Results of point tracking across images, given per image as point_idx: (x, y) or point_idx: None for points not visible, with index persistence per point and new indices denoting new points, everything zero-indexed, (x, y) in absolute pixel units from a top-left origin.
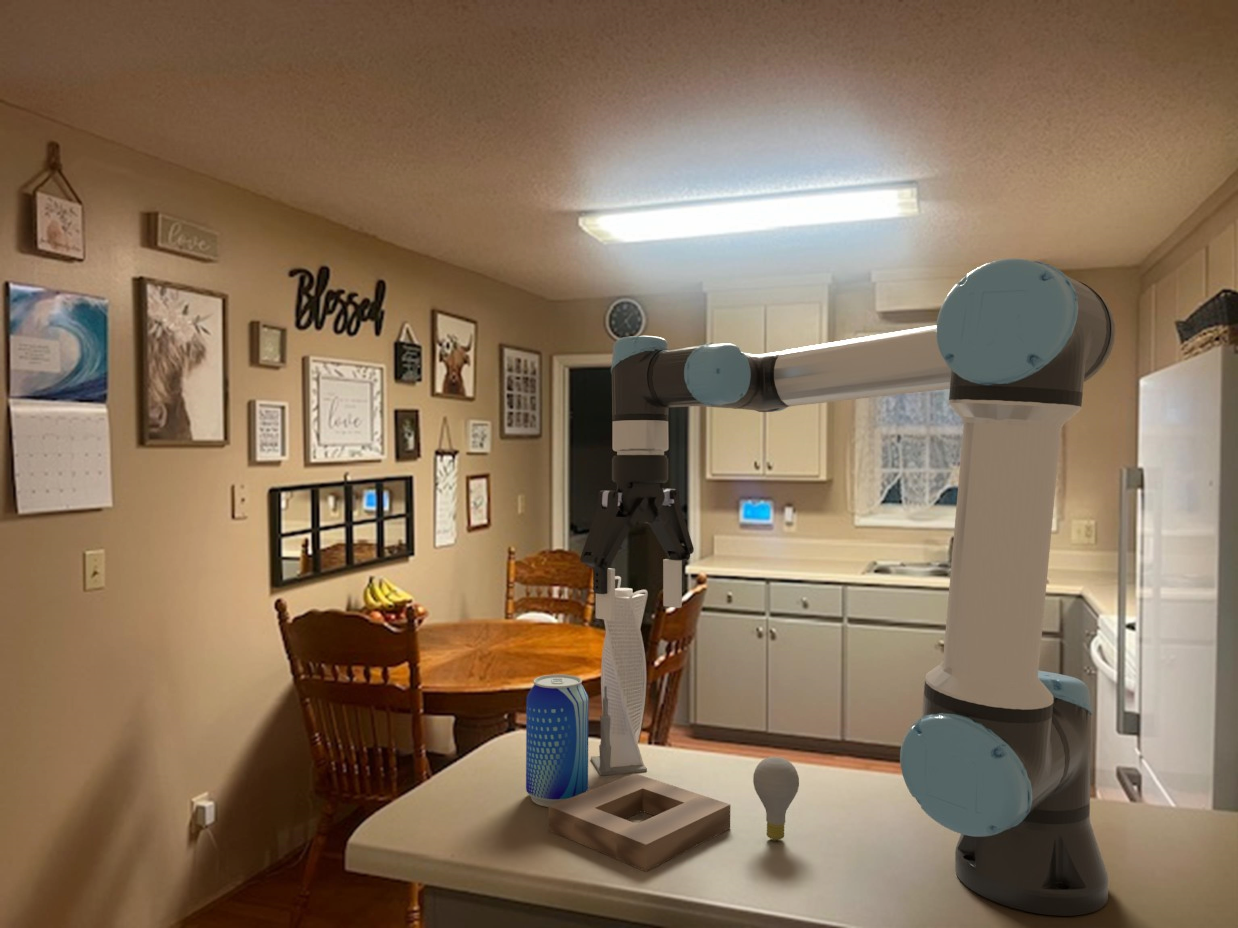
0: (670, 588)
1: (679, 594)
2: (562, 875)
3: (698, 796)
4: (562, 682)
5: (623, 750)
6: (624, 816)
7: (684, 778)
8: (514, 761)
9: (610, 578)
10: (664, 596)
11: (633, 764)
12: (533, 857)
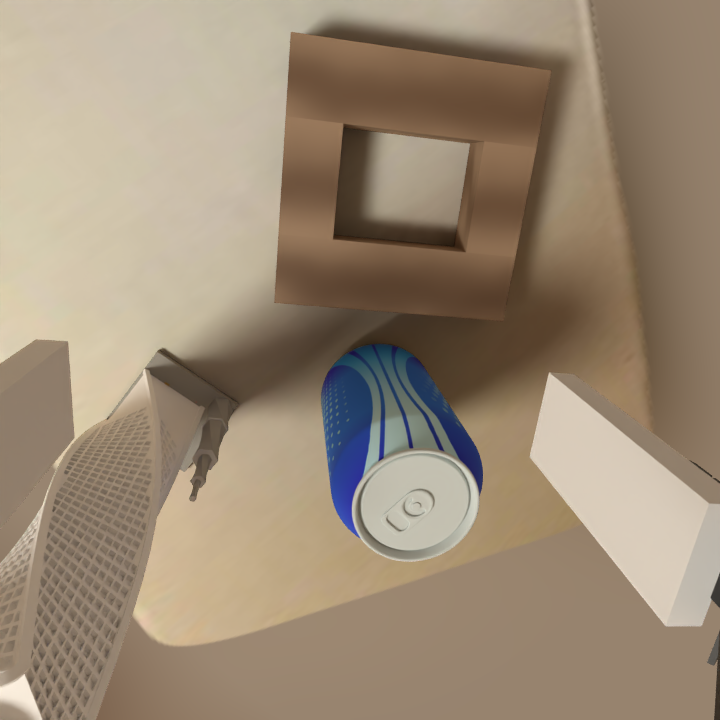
0: (25, 438)
1: (24, 365)
2: (606, 184)
3: (297, 117)
4: (416, 491)
5: (171, 408)
6: (379, 239)
7: (134, 267)
8: (290, 553)
9: (699, 473)
10: (53, 455)
11: (162, 382)
12: (579, 262)
